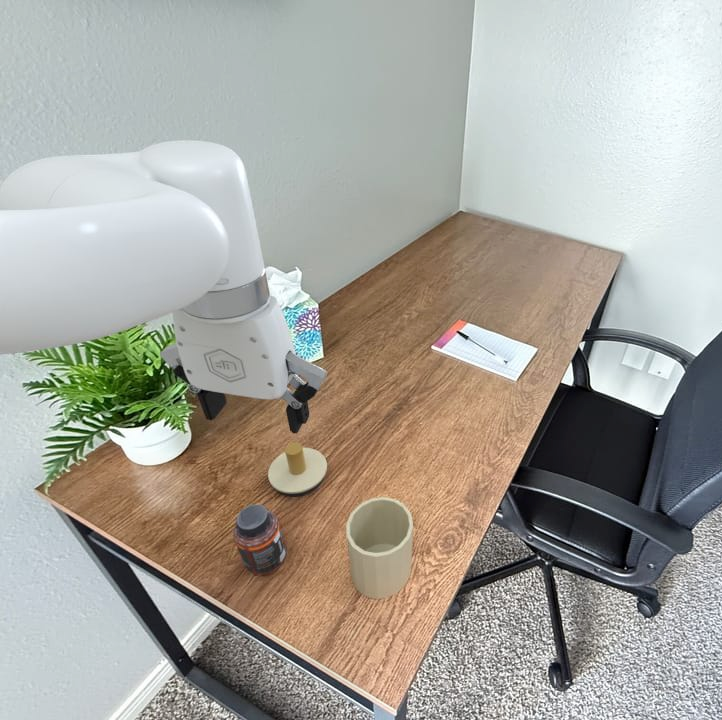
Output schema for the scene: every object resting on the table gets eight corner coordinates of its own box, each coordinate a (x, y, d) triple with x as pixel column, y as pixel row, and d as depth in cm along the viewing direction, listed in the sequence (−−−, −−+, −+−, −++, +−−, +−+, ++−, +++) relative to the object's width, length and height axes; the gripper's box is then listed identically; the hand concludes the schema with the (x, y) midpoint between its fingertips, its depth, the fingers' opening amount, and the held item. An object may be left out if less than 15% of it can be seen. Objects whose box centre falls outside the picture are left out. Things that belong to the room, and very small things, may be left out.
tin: (352, 604, 67) (347, 561, 60) (350, 547, 74) (345, 501, 66) (414, 592, 70) (416, 549, 62) (407, 538, 76) (408, 493, 69)
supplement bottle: (295, 554, 72) (284, 512, 65) (262, 585, 68) (247, 544, 61) (269, 533, 74) (256, 490, 67) (236, 562, 70) (218, 520, 63)
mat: (269, 500, 79) (268, 497, 78) (274, 459, 86) (273, 456, 85) (325, 493, 81) (324, 490, 81) (325, 453, 88) (325, 450, 87)
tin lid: (266, 499, 78) (259, 475, 74) (271, 454, 85) (265, 430, 81) (327, 491, 81) (323, 467, 76) (327, 448, 88) (324, 424, 84)
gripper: (102, 295, 40) (164, 430, 51) (299, 325, 40) (319, 454, 50) (159, 257, 46) (203, 385, 57) (330, 283, 46) (342, 407, 56)
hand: (258, 417), depth 53 cm, fingers open, 9 cm apart
